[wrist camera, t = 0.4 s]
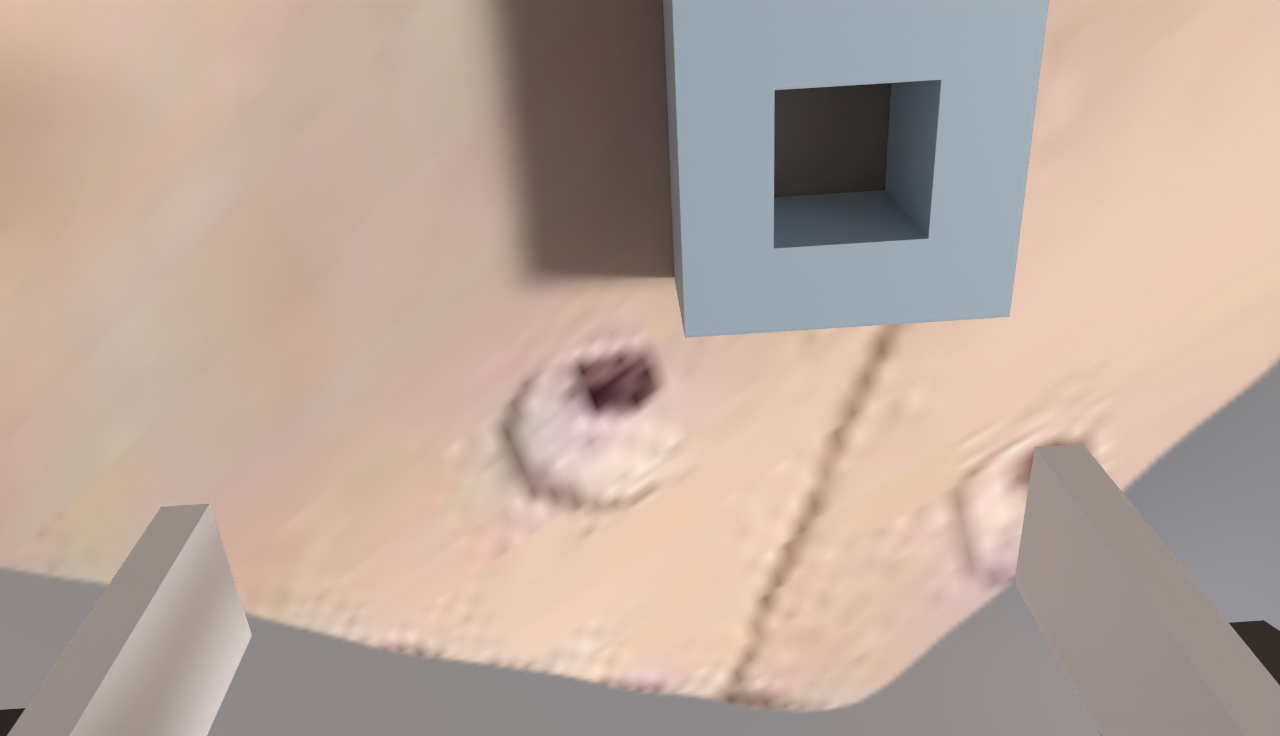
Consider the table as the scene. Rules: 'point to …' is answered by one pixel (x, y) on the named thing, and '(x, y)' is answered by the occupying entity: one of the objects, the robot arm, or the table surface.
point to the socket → (853, 221)
